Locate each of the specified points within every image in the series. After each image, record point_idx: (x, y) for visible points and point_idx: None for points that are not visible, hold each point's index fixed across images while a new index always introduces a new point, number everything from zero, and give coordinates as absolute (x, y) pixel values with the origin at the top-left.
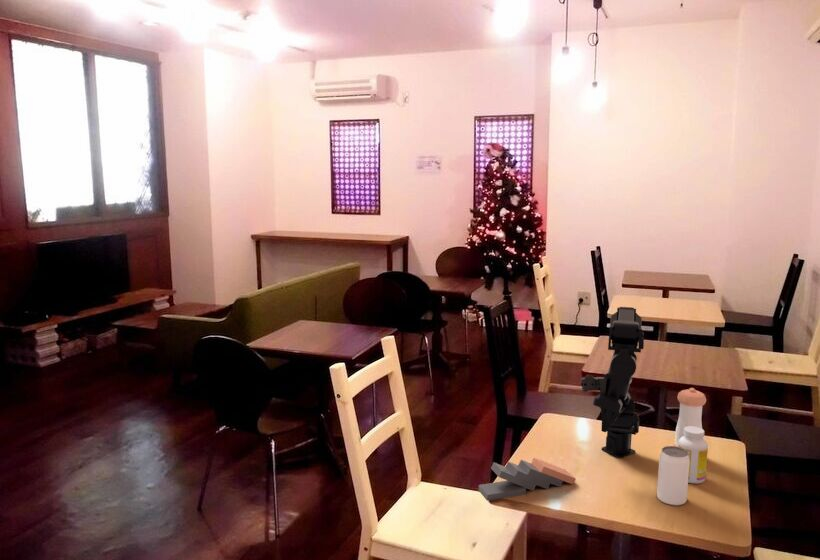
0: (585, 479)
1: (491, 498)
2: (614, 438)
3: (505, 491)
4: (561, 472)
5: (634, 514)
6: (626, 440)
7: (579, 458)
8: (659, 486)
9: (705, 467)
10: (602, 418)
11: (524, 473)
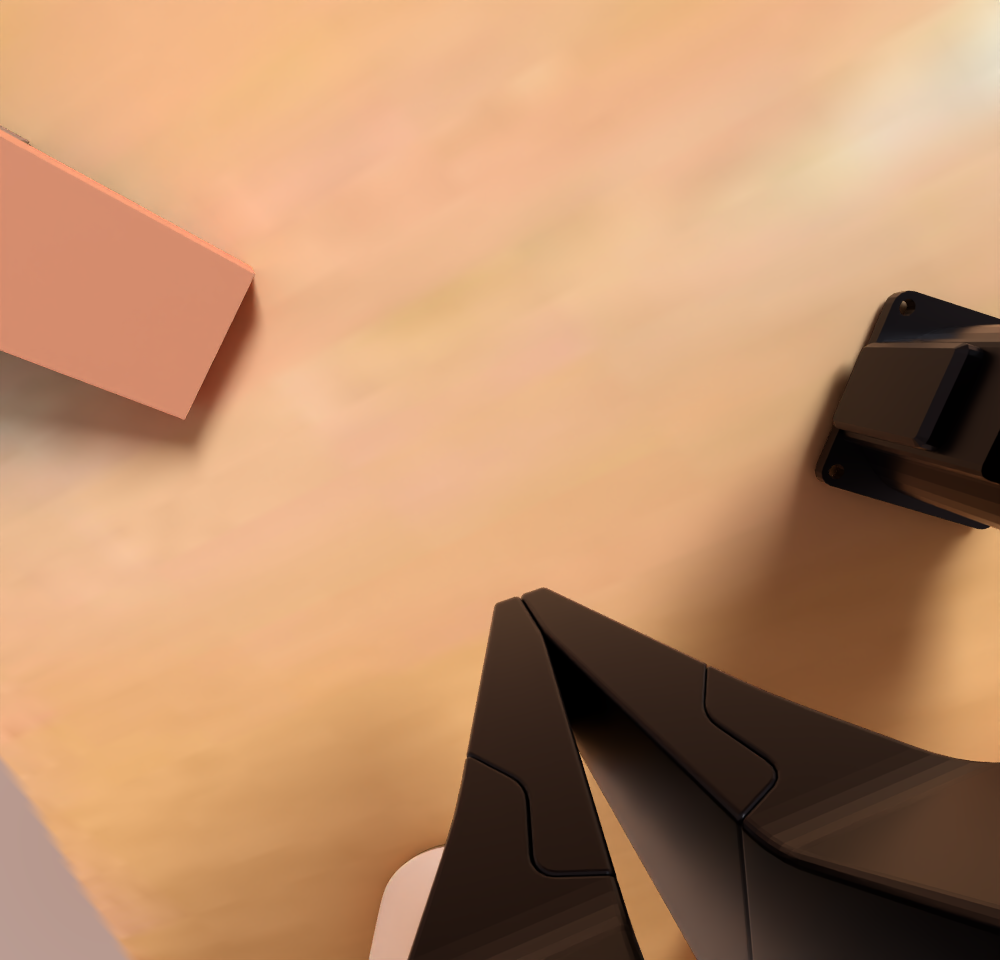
0: (323, 433)
1: None
2: (945, 440)
3: None
4: (30, 337)
5: (153, 827)
6: (990, 525)
7: (621, 223)
8: (381, 948)
9: None
10: (467, 772)
11: None
